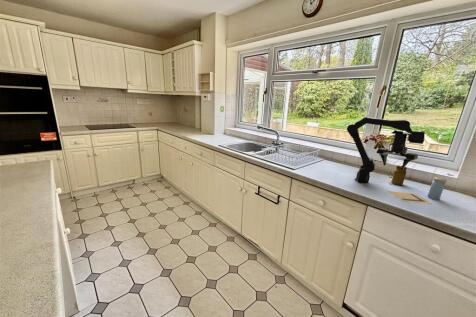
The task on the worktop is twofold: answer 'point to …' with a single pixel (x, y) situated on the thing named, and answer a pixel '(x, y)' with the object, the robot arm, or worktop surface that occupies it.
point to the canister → (436, 188)
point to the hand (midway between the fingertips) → (393, 167)
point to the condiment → (399, 176)
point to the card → (409, 197)
